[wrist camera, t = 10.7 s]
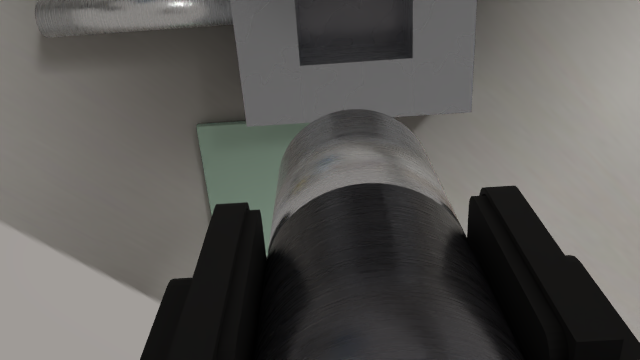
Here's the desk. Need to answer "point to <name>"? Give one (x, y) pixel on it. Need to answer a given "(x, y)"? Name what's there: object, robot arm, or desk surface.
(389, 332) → the dark gray capped cylinder
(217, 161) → the mat
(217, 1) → the block
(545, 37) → the desk surface
